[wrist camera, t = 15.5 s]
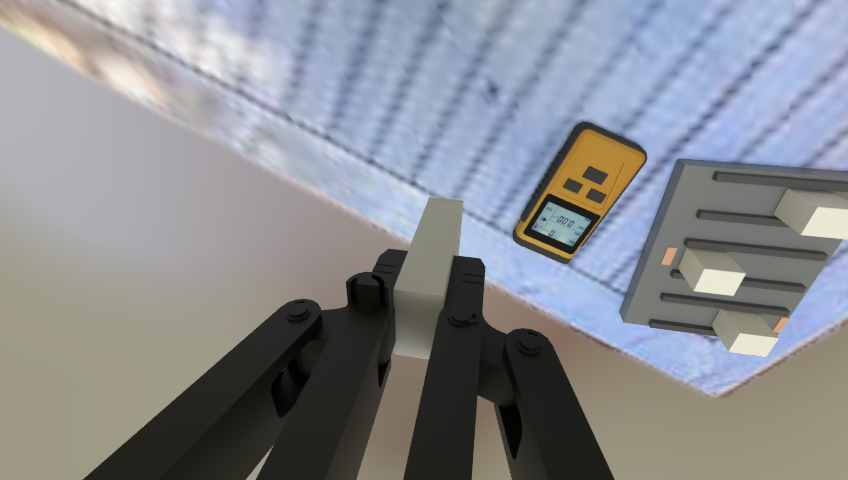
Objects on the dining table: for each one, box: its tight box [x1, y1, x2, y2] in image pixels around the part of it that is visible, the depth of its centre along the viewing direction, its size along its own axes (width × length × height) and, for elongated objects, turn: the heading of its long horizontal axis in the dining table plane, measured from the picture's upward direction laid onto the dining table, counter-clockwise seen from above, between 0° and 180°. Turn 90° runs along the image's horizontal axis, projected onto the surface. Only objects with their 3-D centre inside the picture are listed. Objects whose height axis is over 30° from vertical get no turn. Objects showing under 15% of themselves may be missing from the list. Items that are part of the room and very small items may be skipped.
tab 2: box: [711, 309, 779, 357], centre depth 46 cm, size 3×4×4 cm
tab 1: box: [678, 247, 746, 296], centre depth 43 cm, size 3×4×4 cm
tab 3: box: [773, 188, 848, 240], centre depth 38 cm, size 3×4×4 cm
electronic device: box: [513, 122, 647, 264], centre depth 45 cm, size 8×16×3 cm, turn 158°
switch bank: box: [620, 159, 848, 336], centre depth 45 cm, size 22×18×3 cm
